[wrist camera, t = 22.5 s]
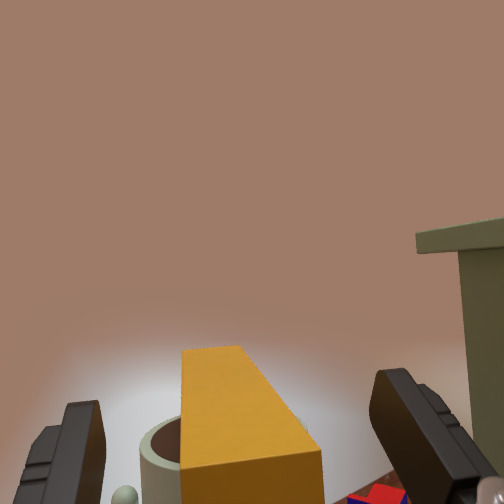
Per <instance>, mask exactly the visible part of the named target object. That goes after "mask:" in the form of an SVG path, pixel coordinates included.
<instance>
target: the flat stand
mask: <svg viewBox="0 0 504 504" xmlns="http://www.w3.org/2000/svg"><path fill="white" fill-rule="evenodd" d="M416 247H417V253H418V254H427V253H443V252H458V261H459V273H460V284H461V297H462V308H463V321H464V333H465V345H466V357H467V369H468V381H469V392H470V403H471V416H472V428H473V440H474V443H475V444H476V445H477V447H478V448H479V449H480V451H481V452H482V453H483V455H484V456H485V457H486V459H487V460H488V461H489V463H490V464H491V465H492V467H493V468H494V469H495V471H496V472H497V473H498V474H499V475H500V477H504V217H500V218H495V219H488V220H483V221H477V222H472V223H467V224H460V225H455V226H449V227H444V228H438V229H432V230H427V231H421V232H416Z"/></svg>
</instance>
